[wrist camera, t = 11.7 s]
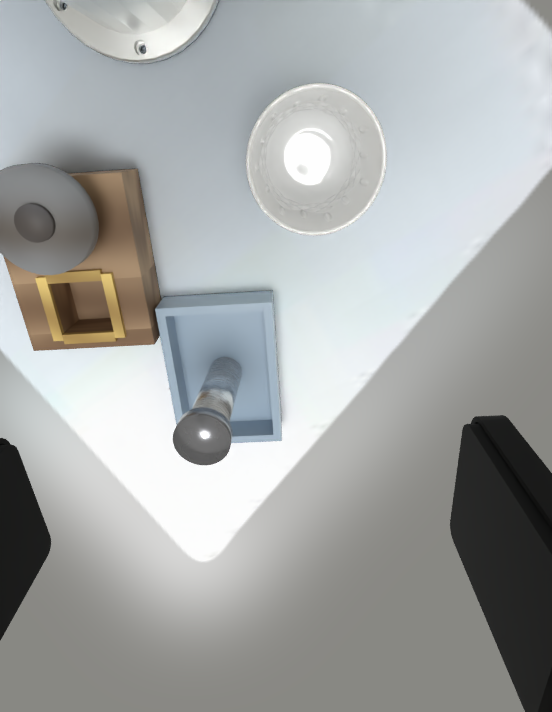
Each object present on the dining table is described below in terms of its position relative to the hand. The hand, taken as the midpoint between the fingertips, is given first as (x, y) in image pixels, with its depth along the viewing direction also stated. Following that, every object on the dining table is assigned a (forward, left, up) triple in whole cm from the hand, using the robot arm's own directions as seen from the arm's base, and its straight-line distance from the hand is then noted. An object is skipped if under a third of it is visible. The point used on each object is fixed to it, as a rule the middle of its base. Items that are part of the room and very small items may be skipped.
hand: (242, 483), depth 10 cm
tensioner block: (+1, -15, -30) cm, 34 cm away
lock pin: (+13, -5, -30) cm, 33 cm away
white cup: (-5, +3, -31) cm, 31 cm away
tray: (+12, -5, -30) cm, 33 cm away
